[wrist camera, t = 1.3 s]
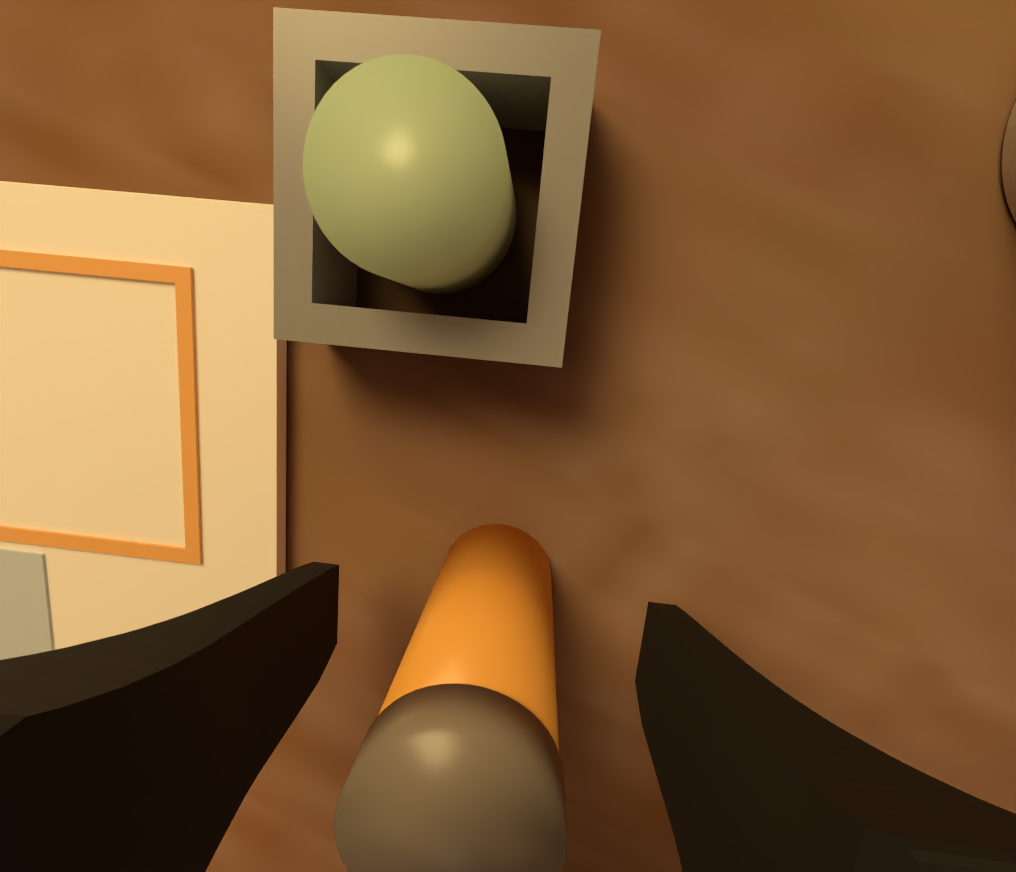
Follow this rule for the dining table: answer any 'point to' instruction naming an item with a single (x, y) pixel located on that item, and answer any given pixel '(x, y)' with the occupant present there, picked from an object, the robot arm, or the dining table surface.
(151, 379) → the sheet
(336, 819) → the marker
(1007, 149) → the coffee cup
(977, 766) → the dining table surface
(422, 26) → the button housing
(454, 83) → the button
